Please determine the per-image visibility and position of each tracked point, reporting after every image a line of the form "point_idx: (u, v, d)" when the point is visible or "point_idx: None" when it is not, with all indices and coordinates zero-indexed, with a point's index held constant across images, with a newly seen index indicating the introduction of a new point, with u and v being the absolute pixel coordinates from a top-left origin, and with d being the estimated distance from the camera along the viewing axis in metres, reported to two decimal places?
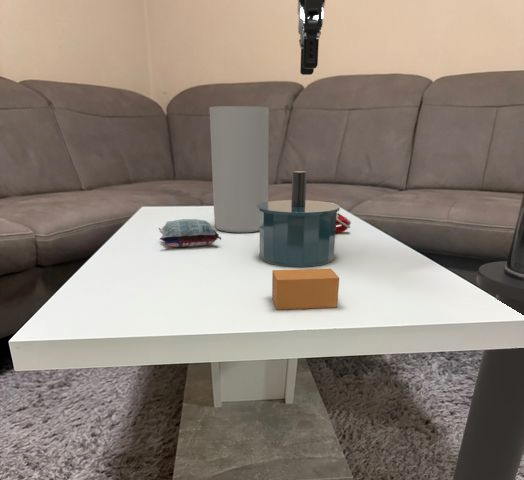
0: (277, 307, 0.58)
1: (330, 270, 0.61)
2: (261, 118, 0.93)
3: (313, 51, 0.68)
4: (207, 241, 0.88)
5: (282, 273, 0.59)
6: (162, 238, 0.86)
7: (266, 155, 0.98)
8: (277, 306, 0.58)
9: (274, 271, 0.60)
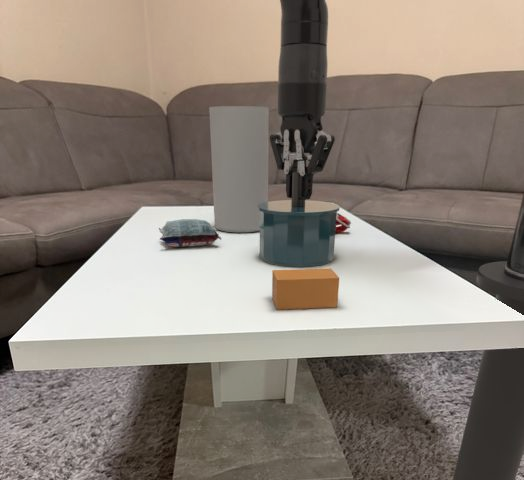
0: (277, 307, 0.58)
1: (330, 270, 0.61)
2: (261, 118, 0.93)
3: (311, 186, 0.76)
4: (207, 241, 0.88)
5: (282, 273, 0.59)
6: (162, 238, 0.86)
7: (266, 155, 0.98)
8: (277, 306, 0.58)
9: (274, 271, 0.60)
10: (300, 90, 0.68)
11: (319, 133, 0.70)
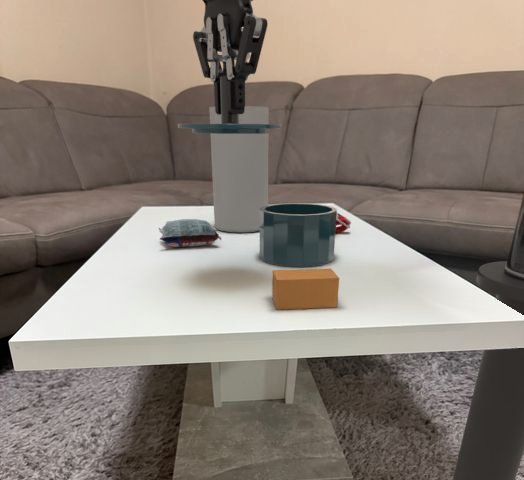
0: (277, 307, 0.58)
1: (330, 270, 0.61)
2: (261, 118, 0.93)
3: (243, 95, 0.59)
4: (207, 241, 0.88)
5: (282, 273, 0.59)
6: (162, 238, 0.86)
7: (266, 155, 0.98)
8: (277, 306, 0.58)
9: (274, 271, 0.60)
10: None
11: (247, 15, 0.53)
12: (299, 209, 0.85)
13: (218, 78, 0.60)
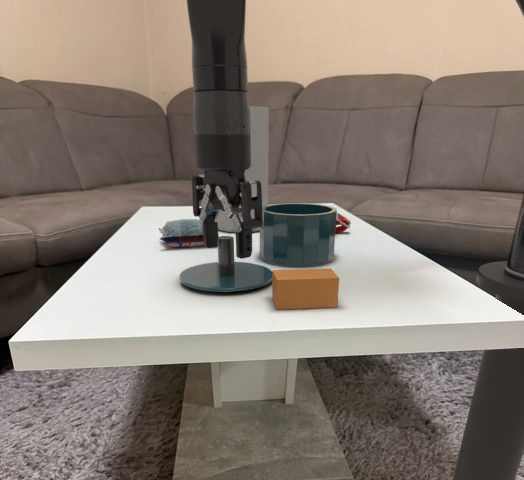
0: (277, 307, 0.58)
1: (330, 270, 0.61)
2: (261, 118, 0.93)
3: (250, 243, 0.63)
4: None
5: (282, 273, 0.59)
6: (162, 238, 0.86)
7: (266, 155, 0.98)
8: (277, 306, 0.58)
9: (274, 271, 0.60)
10: (216, 143, 0.58)
11: None
12: (299, 209, 0.85)
13: (206, 219, 0.69)
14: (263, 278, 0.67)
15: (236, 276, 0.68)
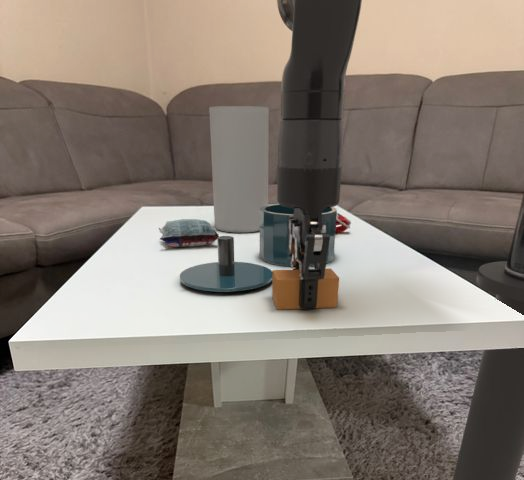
0: (277, 307, 0.58)
1: (330, 270, 0.61)
2: (261, 118, 0.93)
3: (313, 294, 0.57)
4: (207, 241, 0.88)
5: (282, 273, 0.59)
6: (162, 238, 0.86)
7: (266, 155, 0.98)
8: (277, 306, 0.58)
9: (274, 271, 0.60)
10: (290, 178, 0.51)
11: (311, 231, 0.52)
12: None
13: (296, 265, 0.61)
14: (263, 278, 0.67)
15: (236, 276, 0.68)
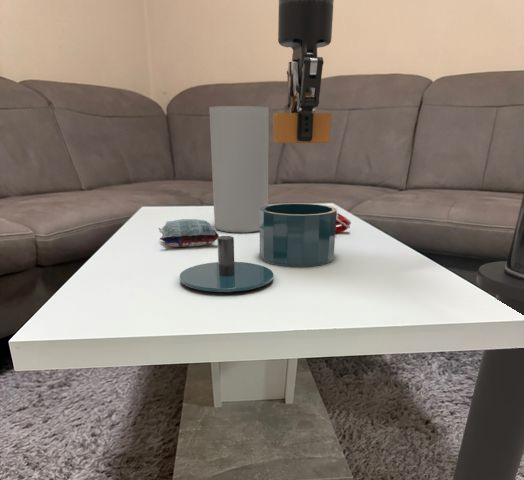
0: (278, 140, 0.68)
1: None
2: (261, 118, 0.93)
3: (309, 125, 0.66)
4: (207, 241, 0.88)
5: None
6: (162, 238, 0.86)
7: (266, 155, 0.98)
8: (278, 139, 0.68)
9: (275, 113, 0.69)
10: (289, 11, 0.61)
11: None
12: (299, 209, 0.85)
13: (294, 110, 0.70)
14: (263, 278, 0.67)
15: (236, 276, 0.68)
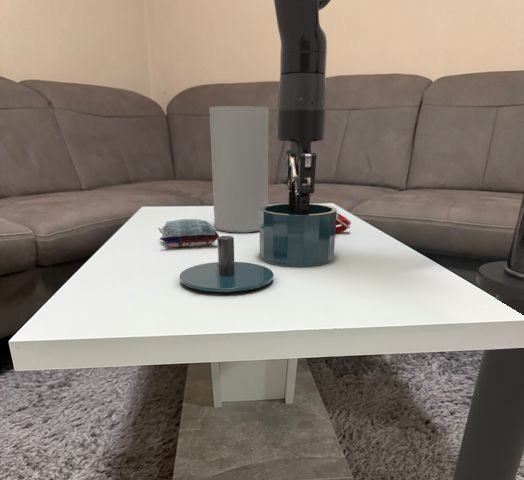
0: None
1: None
2: (261, 118, 0.93)
3: (306, 207, 0.74)
4: (207, 241, 0.88)
5: None
6: (162, 238, 0.86)
7: (266, 155, 0.98)
8: None
9: None
10: (287, 117, 0.70)
11: None
12: None
13: (291, 188, 0.81)
14: (263, 278, 0.67)
15: (236, 276, 0.68)
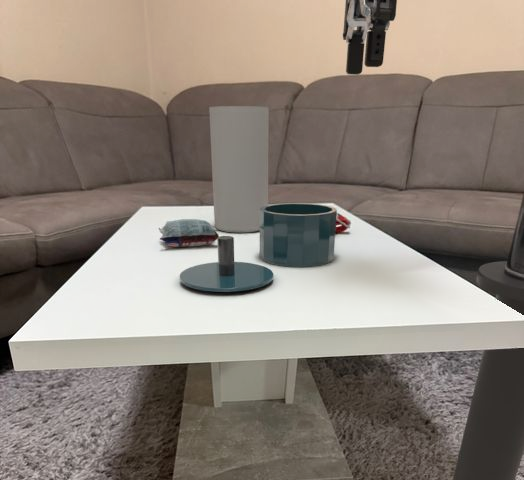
0: None
1: None
2: (261, 118, 0.93)
3: (381, 45, 0.56)
4: (207, 241, 0.88)
5: None
6: (162, 238, 0.86)
7: (266, 155, 0.98)
8: None
9: None
10: None
11: None
12: (299, 209, 0.85)
13: (351, 39, 0.64)
14: (263, 278, 0.67)
15: (236, 276, 0.68)
